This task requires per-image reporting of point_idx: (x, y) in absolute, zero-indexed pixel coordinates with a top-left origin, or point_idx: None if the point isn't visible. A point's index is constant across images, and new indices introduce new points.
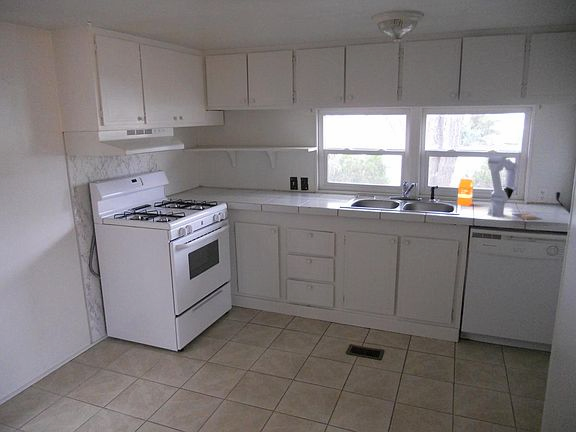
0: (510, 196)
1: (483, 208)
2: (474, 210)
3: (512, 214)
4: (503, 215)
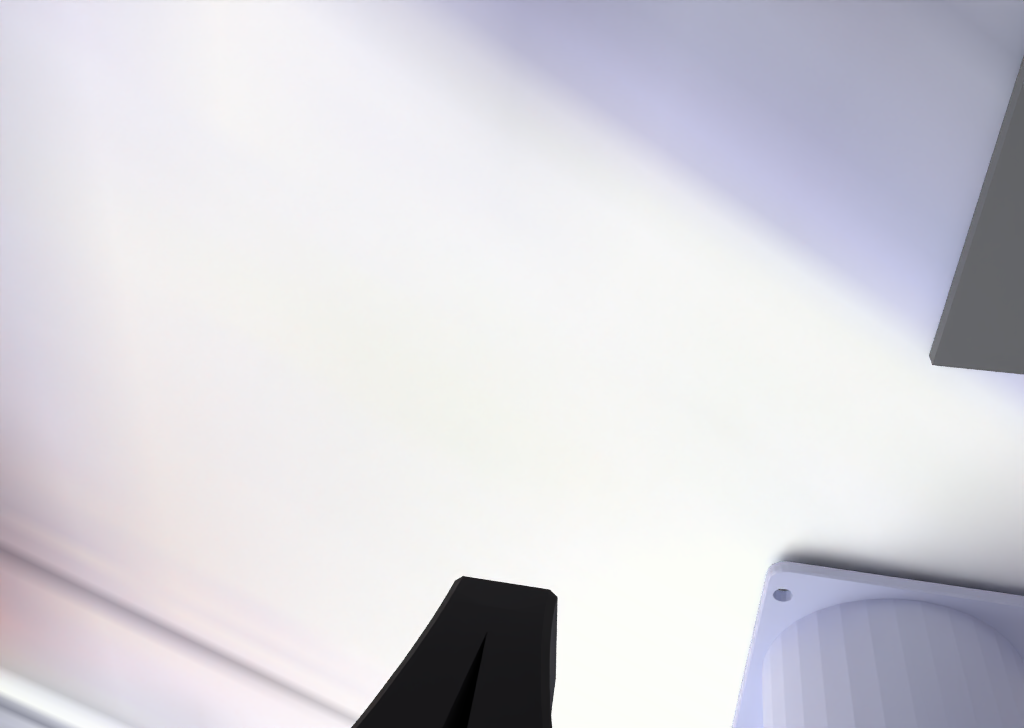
0: (549, 680)
1: (159, 498)
2: (353, 706)
3: (992, 364)
4: (1017, 636)
